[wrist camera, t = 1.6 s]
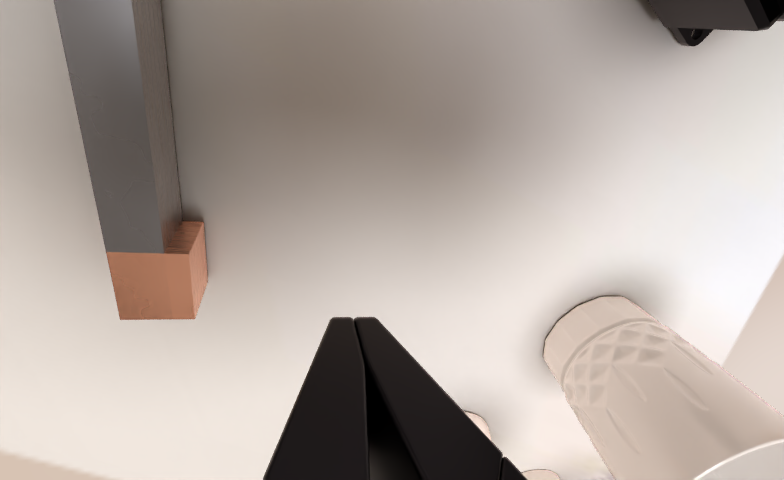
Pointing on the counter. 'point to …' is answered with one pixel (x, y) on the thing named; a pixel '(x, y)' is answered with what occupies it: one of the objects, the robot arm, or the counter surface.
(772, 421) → the white cup
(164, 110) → the bar
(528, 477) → the beige tall box
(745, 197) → the counter surface
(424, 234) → the counter surface
